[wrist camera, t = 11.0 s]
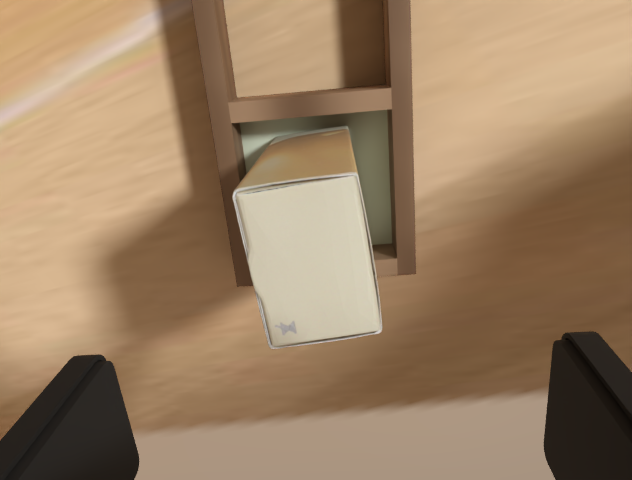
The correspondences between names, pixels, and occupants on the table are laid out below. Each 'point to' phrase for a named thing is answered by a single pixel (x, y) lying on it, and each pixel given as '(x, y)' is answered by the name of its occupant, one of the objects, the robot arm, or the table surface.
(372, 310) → the skincare box
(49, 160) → the table surface
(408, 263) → the divided wooden tray
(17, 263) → the table surface
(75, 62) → the table surface
